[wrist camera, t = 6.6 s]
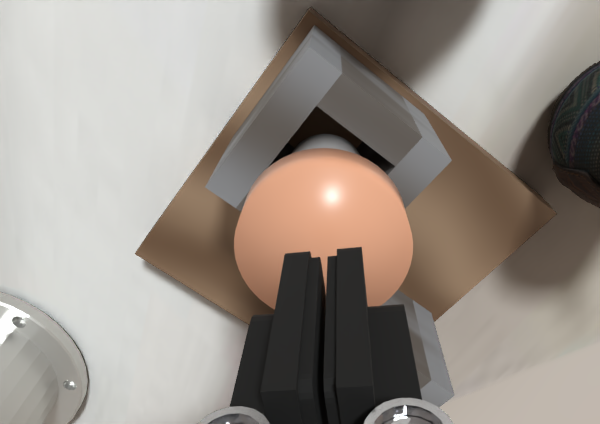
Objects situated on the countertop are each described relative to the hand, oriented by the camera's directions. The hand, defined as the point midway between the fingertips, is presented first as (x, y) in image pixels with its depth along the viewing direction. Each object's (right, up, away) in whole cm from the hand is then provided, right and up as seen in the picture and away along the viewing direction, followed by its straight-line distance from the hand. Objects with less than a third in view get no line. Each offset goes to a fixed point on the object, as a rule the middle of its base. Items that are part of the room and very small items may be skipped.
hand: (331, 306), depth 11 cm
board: (+1, +2, +17) cm, 17 cm away
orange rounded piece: (0, +4, +8) cm, 9 cm away
